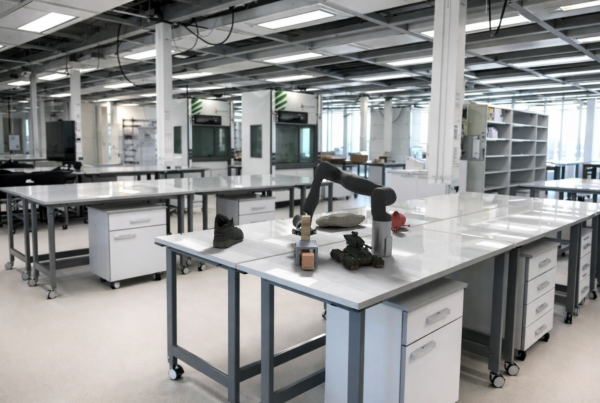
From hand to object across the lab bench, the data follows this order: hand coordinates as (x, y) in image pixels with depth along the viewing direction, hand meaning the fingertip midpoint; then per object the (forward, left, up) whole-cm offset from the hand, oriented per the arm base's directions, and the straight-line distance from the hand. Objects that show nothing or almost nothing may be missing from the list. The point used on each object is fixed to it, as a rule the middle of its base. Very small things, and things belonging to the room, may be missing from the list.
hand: (305, 234), depth 229 cm
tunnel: (-8, +9, -10) cm, 15 cm away
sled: (-9, +11, -9) cm, 17 cm away
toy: (-2, -94, -10) cm, 94 cm away
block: (-16, +19, -8) cm, 26 cm away
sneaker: (+47, +4, -10) cm, 49 cm away
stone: (+30, -76, -10) cm, 82 cm away
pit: (-1, +1, -10) cm, 10 cm away
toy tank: (-26, -5, -11) cm, 28 cm away
